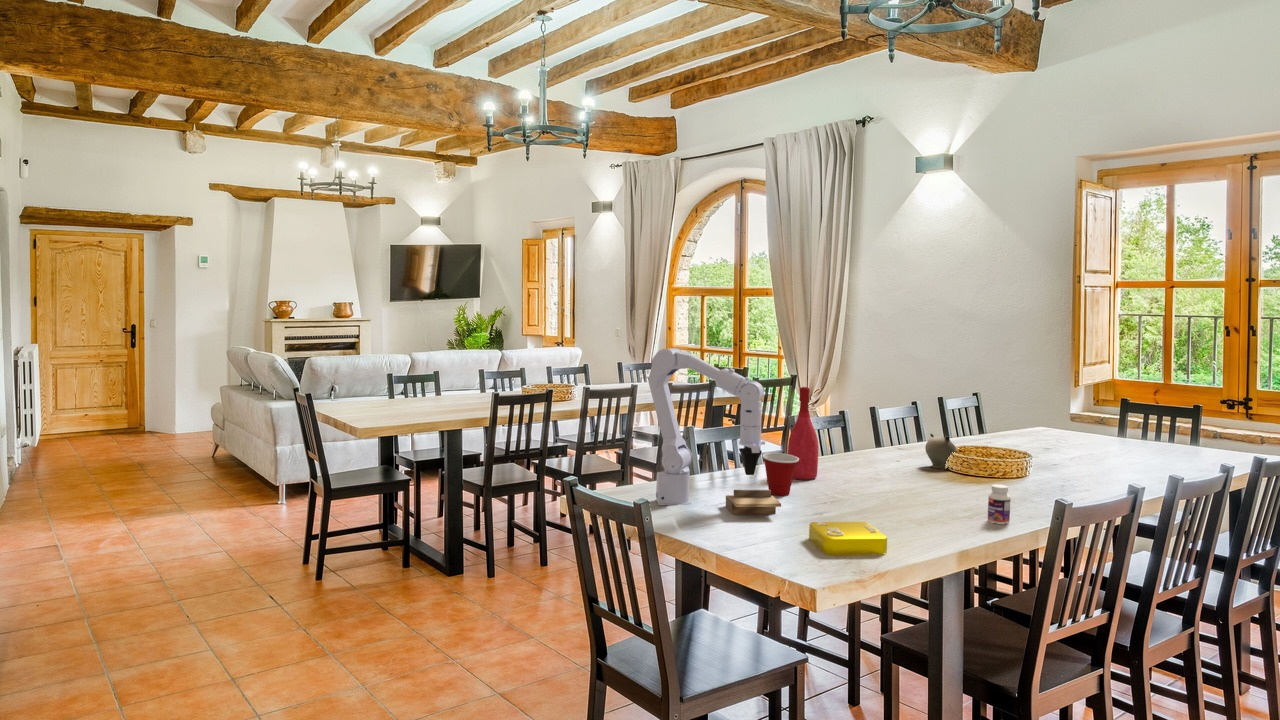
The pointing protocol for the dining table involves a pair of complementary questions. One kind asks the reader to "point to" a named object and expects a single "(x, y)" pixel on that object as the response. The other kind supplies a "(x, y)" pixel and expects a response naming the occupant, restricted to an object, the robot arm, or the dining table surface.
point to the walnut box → (748, 508)
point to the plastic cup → (779, 472)
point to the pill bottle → (999, 504)
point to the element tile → (847, 538)
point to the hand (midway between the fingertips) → (749, 474)
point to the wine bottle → (804, 441)
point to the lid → (754, 498)
